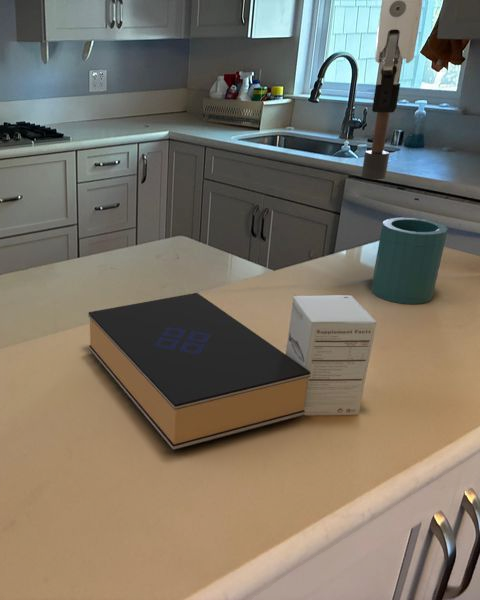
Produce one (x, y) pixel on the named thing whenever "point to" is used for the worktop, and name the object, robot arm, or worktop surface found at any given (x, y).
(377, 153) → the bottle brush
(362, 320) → the white packaging box
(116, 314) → the book
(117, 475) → the worktop surface
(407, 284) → the teal pen holder
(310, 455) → the worktop surface
